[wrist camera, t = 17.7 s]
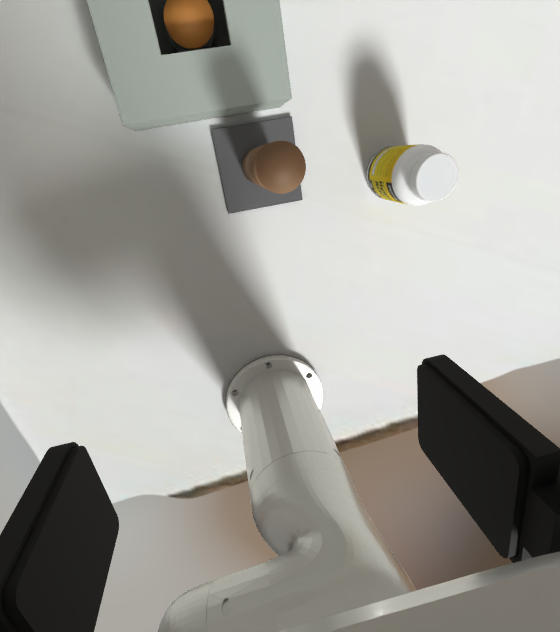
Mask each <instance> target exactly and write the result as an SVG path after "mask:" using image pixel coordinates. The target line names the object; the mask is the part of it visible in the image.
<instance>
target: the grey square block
mask: <svg viewBox="0 0 560 632" xmlns="http://www.w3.org/2000/svg"><path fill="white" fill-rule="evenodd" d="M87 3H88V7H89V10H90V14H91V17H92V21H93V24H94V27H95V31H96V34H97V38H98V41H99V45H100V48H101V52H102V55H103V58H104V62H105V65H106V69H107V72H108V76H109V79H110V83H111V86H112V90H113V93H114V96H115V100H116V103H117V107H118V110H119V114H120V117H121V121H122V124H123V125H124V126H126V127H129V128H131V129H133V130H143V129H149V128H155V127H161V126H167V125H174V124H180V123H186V122H192V121H198V120H205V119H211V118H217V117H223V116H229V115H236V114H242V113H248V112H254V111H260V110H267V109H273V108H279V107H281V106H282V105H283V104H285V103H286V102H287V101H289V100H290V99H291V98H292V96H291V88H290V80H289V72H288V65H287V57H286V49H285V41H284V33H283V25H282V17H281V9H280V2H279V0H223V6H224V12H225V17H226V23H227V29H228V34H229V40H230V45H229V46H222V47H215V48H208V49H201V50H194V51H187V52H180V53H173V54H166V55H161V51H160V46H159V42H158V38H157V34H156V30H155V25H154V21H153V17H152V13H151V9H150V4H149V0H87Z"/></svg>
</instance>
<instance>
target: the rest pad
mask: <svg viewBox="0 0 560 632" xmlns="http://www.w3.org/2000/svg"><path fill="white" fill-rule="evenodd" d="M211 131H212V136H213V140H214V145H215V150H216V155H217V160H218V165H219V169H220V174H221V179H222V184H223V189H224V194H225V198H226V203H227V208H228V213H235V212H240V211H245V210H251V209H256V208H261V207H267V206H272V205H277V204H283V203H288V202H293V201H299V200H302V193H301V185H299V186H298V187H297V188H296V189H294V190H293V191H291V192H289V193H285V194H278V193H274V192H271V191H269V190H267V189H265V188H263V187H261V186H258V185H256V184H254V183H252V182H250V181H249V180H248V179H247V178H246V177H245V175H244V173H243V170H242V161H243V158H244V156H245V154H246V153H247V152H248V151H249V150H251V149H253V148H256V147H259V146H262V145H265V144H268V143H272V142H275V141H288V142H290V143H292V144H294V145H295V138H294V131H293V123H292V117H287V118H280V119H274V120H268V121H262V122H256V123H250V124H244V125H238V126H232V127H226V128H220V129H213V130H211Z"/></svg>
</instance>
